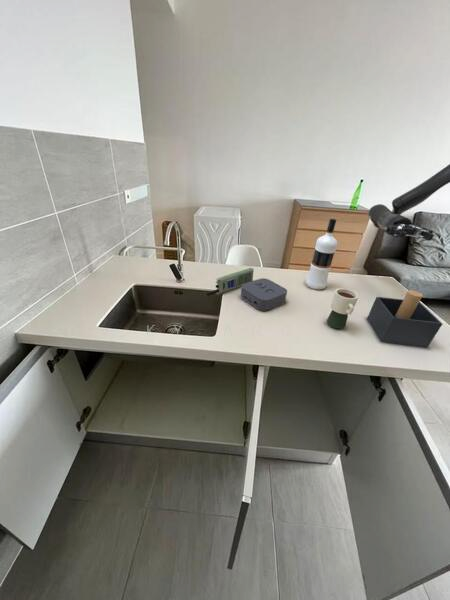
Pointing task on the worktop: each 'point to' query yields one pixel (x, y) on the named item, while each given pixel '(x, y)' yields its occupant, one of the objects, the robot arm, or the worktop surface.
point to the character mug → (342, 307)
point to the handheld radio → (232, 281)
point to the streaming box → (263, 294)
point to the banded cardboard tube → (408, 304)
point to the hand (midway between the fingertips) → (417, 236)
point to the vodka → (322, 259)
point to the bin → (402, 323)
